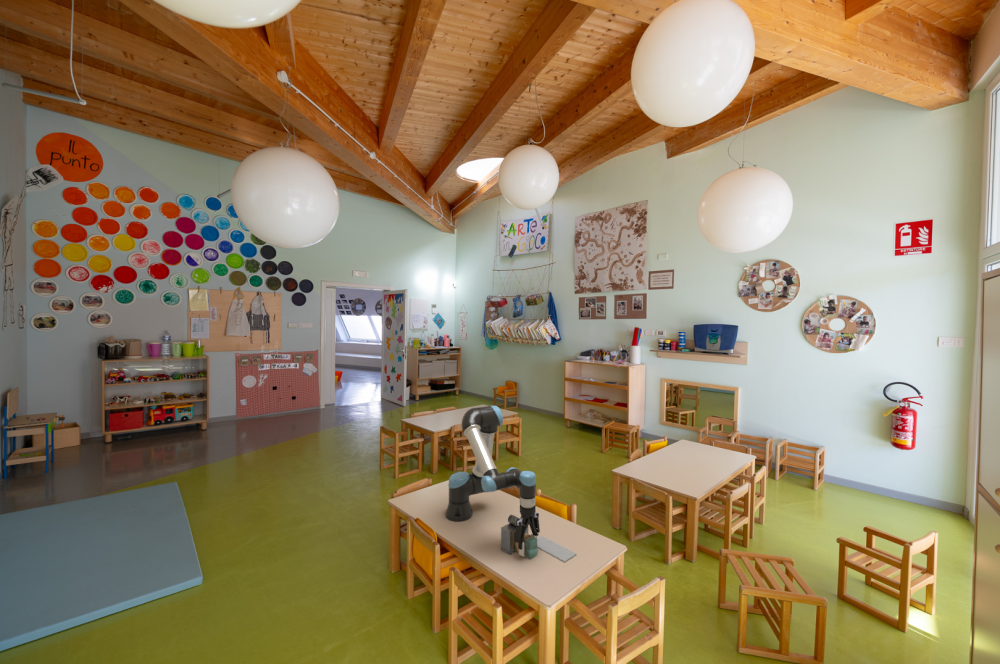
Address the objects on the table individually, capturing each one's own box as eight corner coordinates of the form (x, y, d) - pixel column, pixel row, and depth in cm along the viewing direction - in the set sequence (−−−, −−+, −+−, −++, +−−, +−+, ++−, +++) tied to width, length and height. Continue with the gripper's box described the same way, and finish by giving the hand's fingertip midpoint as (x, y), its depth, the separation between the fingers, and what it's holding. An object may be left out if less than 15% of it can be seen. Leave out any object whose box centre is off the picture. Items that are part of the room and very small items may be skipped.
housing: (501, 549, 202) (501, 519, 202) (519, 539, 211) (519, 510, 210) (509, 554, 198) (509, 523, 197) (528, 544, 207) (528, 514, 206)
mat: (529, 543, 207) (529, 542, 207) (541, 536, 214) (541, 535, 214) (564, 562, 191) (564, 561, 191) (576, 554, 198) (576, 553, 198)
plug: (503, 544, 207) (503, 528, 207) (510, 540, 210) (510, 524, 210) (530, 559, 194) (530, 542, 194) (537, 555, 197) (537, 538, 197)
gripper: (518, 514, 188) (518, 563, 189) (547, 500, 202) (547, 546, 203) (506, 509, 193) (506, 556, 194) (536, 495, 207) (535, 540, 208)
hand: (527, 551), depth 198 cm, fingers open, 8 cm apart
